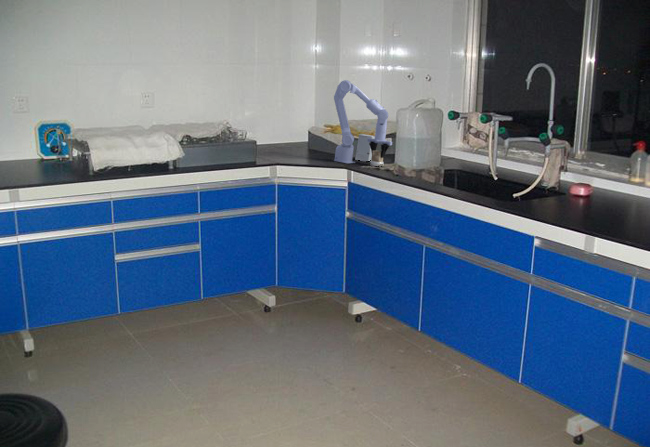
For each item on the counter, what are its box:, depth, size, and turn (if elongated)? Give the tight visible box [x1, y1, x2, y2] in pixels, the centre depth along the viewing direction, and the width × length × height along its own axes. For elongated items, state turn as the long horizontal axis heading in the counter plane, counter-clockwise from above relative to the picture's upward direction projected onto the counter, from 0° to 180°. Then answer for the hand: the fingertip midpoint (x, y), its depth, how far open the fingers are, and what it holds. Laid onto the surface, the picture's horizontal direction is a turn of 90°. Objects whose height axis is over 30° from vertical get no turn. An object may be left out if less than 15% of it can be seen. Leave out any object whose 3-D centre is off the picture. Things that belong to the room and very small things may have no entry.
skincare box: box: [355, 133, 375, 162], centre depth 387 cm, size 8×6×15 cm
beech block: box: [370, 150, 384, 162], centre depth 371 cm, size 4×4×6 cm
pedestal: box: [370, 161, 384, 167], centre depth 372 cm, size 7×7×2 cm
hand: (377, 156), depth 371 cm, fingers open, 5 cm apart
